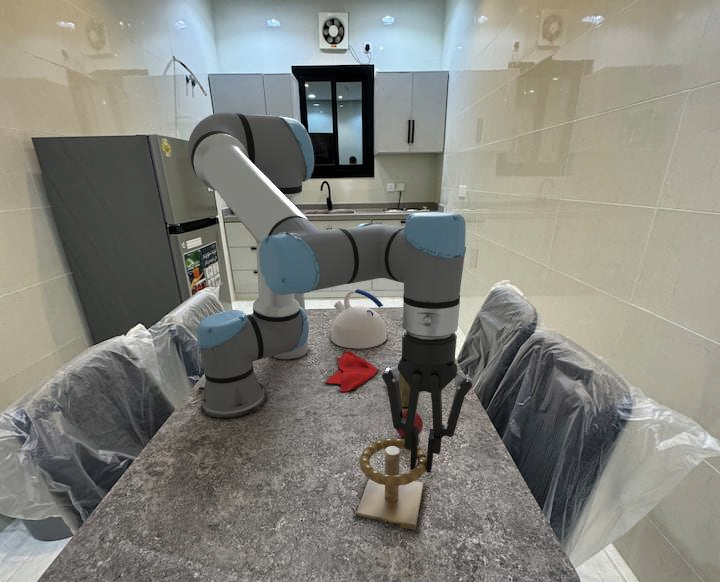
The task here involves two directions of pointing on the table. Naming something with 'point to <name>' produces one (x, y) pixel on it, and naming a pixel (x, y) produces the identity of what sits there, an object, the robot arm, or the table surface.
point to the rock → (404, 391)
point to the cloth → (352, 372)
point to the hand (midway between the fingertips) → (421, 465)
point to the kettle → (358, 324)
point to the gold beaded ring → (392, 479)
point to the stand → (392, 496)
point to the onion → (417, 423)
